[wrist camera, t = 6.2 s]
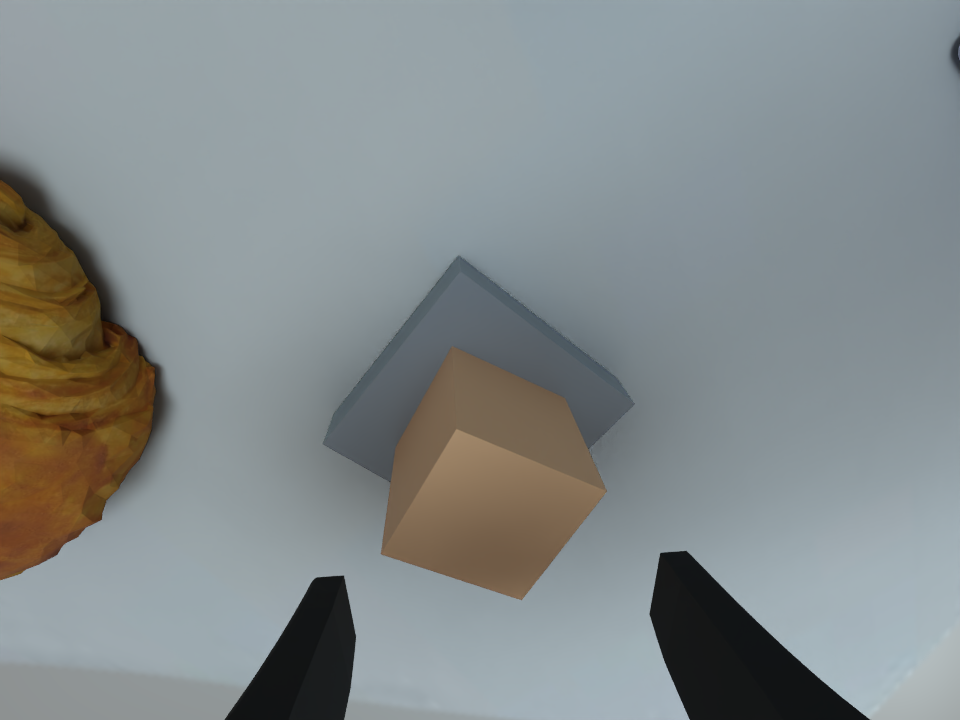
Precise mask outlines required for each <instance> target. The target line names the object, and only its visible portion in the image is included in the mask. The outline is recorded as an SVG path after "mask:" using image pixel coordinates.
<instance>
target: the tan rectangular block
mask: <svg viewBox="0 0 960 720" xmlns="http://www.w3.org/2000/svg"><path fill="white" fill-rule="evenodd" d="M606 492H607V490H606V488H605V486H604V484H603V482H602V479H601V477H600V475H599V473H598V470H597V468H596V466H595V464H594V462H593V459H592V457H591V455H590V453H589V450H588V448H587V446H586V444H585V442H584V439H583V437H582V435H581V433H580V430H579V428H578V426H577V424H576V422H575V419H574V417H573V415H572V413H571V410H570V408H569V406H568V404H567V402H566V399H565V398H564V397H562V396H559V395H557V394H555V393H553V392H551V391H549V390H546V389H544V388H542V387H540V386H538V385H536V384H533V383H531V382H529V381H527V380H525V379H523V378H520V377H518V376H516V375H514V374H512V373H510V372H507V371H505V370H503V369H501V368H499V367H497V366H494V365H492V364H490V363H488V362H486V361H484V360H481V359H479V358H477V357H475V356H473V355H471V354H468V353H466V352H464V351H462V350H460V349H458V348H455V347H453V346H452V347H451V349H450V351H449V352H448V354H447V356H446V358H445V360H444V361H443V363H442V365H441V367H440V369H439V370H438V372H437V374H436V376H435V378H434V379H433V381H432V383H431V385H430V387H429V388H428V390H427V392H426V394H425V395H424V397H423V399H422V401H421V403H420V404H419V406H418V408H417V410H416V412H415V413H414V415H413V417H412V419H411V421H410V422H409V424H408V426H407V428H406V430H405V431H404V433H403V435H402V437H401V439H400V440H399V442H398V444H397V446H396V448H395V455H394V462H393V470H392V477H391V484H390V492H389V499H388V506H387V513H386V521H385V528H384V535H383V543H382V550H381V554H382V555H385V556H388V557H391V558H394V559H397V560H400V561H403V562H406V563H409V564H412V565H415V566H419V567H422V568H425V569H428V570H431V571H434V572H437V573H440V574H443V575H446V576H449V577H452V578H455V579H458V580H461V581H464V582H468V583H471V584H474V585H477V586H480V587H483V588H486V589H489V590H492V591H495V592H498V593H501V594H504V595H507V596H510V597H513V598H516V599H520V600H522V599H523V598H524V596H525V595H526V594H527V593H528V591H529V590H530V589H531V588H532V586H533V585H534V584H535V582H536V581H537V580H538V579H539V577H540V576H541V575H542V573H543V572H544V571H545V570H546V568H547V567H548V566H549V565H550V563H551V562H552V561H553V559H554V558H555V557H556V556H557V554H558V553H559V552H560V551H561V549H562V548H563V547H564V545H565V544H566V543H567V542H568V540H569V539H570V538H571V537H572V535H573V534H574V533H575V531H576V530H577V529H578V528H579V526H580V525H581V524H582V522H583V521H584V520H585V519H586V517H587V516H588V515H589V514H590V512H591V511H592V510H593V508H594V507H595V506H596V505H597V503H598V502H599V501H600V500H601V498H602V497H603V496H604V494H605V493H606Z"/></svg>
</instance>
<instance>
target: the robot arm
mask: <svg viewBox="0 0 960 720" xmlns="http://www.w3.org/2000/svg"><path fill="white" fill-rule="evenodd" d="M958 56H959V59H960V46H959V50H958ZM650 617H651V620H652V623H653V627H654V630H655V633H656V637H657V640H658V643H659V646H660V649H661V652H662V655H663V658H664V661H665V664H666V666H667V668H668V671H669V673H670V675H671V678H672V680H673V682H674V685H675V687H676V689H677V692H678V694H679V696H680V699H681V701H682V703H683V705H684V708H685V710H686V712H687V714H688V717H689V719H690V720H870V719H868V718H867V717H866V716H865V715H863V714H862V713H861V712H860V711H858V710H857V709H856V708H854V707H853V706H852V705H851V704H849V703H848V702H847V701H846V700H844V699H843V698H842V697H841V696H839V695H838V694H837V693H836V692H835V691H833V690H832V689H831V688H830V687H829V686H828V685H826V684H825V683H824V682H823V681H822V680H820V679H819V678H818V677H817V676H816V675H815V674H814V673H812V672H811V671H810V670H809V669H808V668H807V667H806V666H805V665H803V664H802V663H801V662H800V661H799V660H798V659H797V658H795V657H794V656H793V655H792V654H791V653H790V652H789V651H788V650H787V649H786V648H784V647H783V646H782V645H781V644H780V643H779V642H778V641H777V640H776V639H775V638H774V637H773V636H772V635H771V634H770V633H768V632H767V631H766V630H765V629H764V628H763V627H762V626H761V625H760V624H759V623H758V622H757V621H756V620H755V619H754V618H753V617H752V616H751V615H750V614H749V613H748V612H747V611H746V610H745V609H744V608H742V607H741V606H740V605H739V604H738V603H737V602H736V601H735V600H734V599H733V598H732V597H731V596H730V595H729V594H728V593H727V592H726V591H725V589H724V588H723V587H722V586H721V585H720V584H719V583H718V582H717V581H716V580H715V579H714V578H713V577H712V576H711V575H710V574H709V573H708V572H707V571H706V570H705V569H704V568H703V567H702V566H701V565H700V564H699V563H698V562H697V561H696V560H695V559H694V558H693V557H692V556H691V555H690V554H689V553H688V552H687V551H679V552H665V553H660V558H659V564H658V569H657V575H656V581H655V586H654V592H653V598H652V603H651V609H650ZM355 642H356V634H355V629H354V624H353V619H352V614H351V609H350V604H349V599H348V594H347V589H346V584H345V579H344V576H331V577H317V578H315V579H314V580H313V581H312V583H311V584H310V586H309V588H308V590H307V592H306V594H305V595H304V597H303V599H302V601H301V602H300V604H299V606H298V608H297V609H296V611H295V613H294V615H293V616H292V618H291V620H290V621H289V623H288V625H287V626H286V628H285V630H284V631H283V633H282V635H281V636H280V638H279V640H278V641H277V643H276V644H275V646H274V647H273V649H272V650H271V652H270V654H269V655H268V657H267V658H266V660H265V661H264V663H263V664H262V666H261V668H260V669H259V671H258V672H257V674H256V675H255V677H254V678H253V680H252V681H251V683H250V684H249V686H248V687H247V689H246V690H245V691H244V693H243V694H242V696H241V697H240V698H239V700H238V702H237V703H236V704H235V706H234V707H233V708H232V710H231V711H230V713H229V714H228V716H227V717H226V718H225V720H344V717H345V712H346V707H347V703H348V698H349V693H350V688H351V679H352V671H353V662H354V652H355Z"/></svg>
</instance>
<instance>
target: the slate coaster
mask: <svg viewBox="0 0 960 720" xmlns="http://www.w3.org/2000/svg"><path fill="white" fill-rule="evenodd" d="M452 346H453V347H455V348H458V349H460V350H462V351H464V352H466V353H468V354H471V355H473V356H475V357H477V358H479V359H481V360H484V361H486V362H488V363H490V364H492V365H494V366H497V367H499V368H501V369H503V370H505V371H507V372H510V373H512V374H514V375H516V376H518V377H520V378H523V379H525V380H527V381H529V382H531V383H533V384H536V385H538V386H540V387H542V388H544V389H546V390H549V391H551V392H553V393H555V394H557V395H559V396H562V397H564V398H565V399H566V402H567V404H568V406H569V408H570V410H571V413H572V415H573V417H574V419H575V422H576V424H577V426H578V428H579V430H580V433H581V435H582V437H583V439H584V442H585V444H586V446H587V448H588V449H589V448H590V447H591V446H592V445H593V444H594V443H595V442H596V441H597V440H598V439H599V438H600V437H601V436H602V435H603V434H604V433H605V432H606V431H607V430H609V429H610V428H611V427H612V426H613V425H614V424H615V423H616V422H617V421H618V420H619V419H620V418H621V417H622V416H623V415H624V414H625V413H626V412H627V411H628V410H629V409H630V408H631V407H632V406H633V405H634V402H633V401H632V399H631V398H630V396H629V395H628V393H627V392H626V390H625V389H624V388H623V386H622V385H621V383H620V382H619V380H618V379H617V378H616V377H615V376H613V375H612V374H611V373H610V372H608V371H607V370H606V369H604V368H603V367H602V366H601V365H599V364H598V363H597V362H595V361H594V360H593V359H591V358H590V357H589V356H588V355H586V354H585V353H584V352H582V351H581V350H580V349H579V348H577V347H576V346H575V345H573V344H572V343H571V342H570V341H568V340H567V339H566V338H564V337H563V336H562V335H560V334H559V333H558V332H557V331H555V330H554V329H553V328H551V327H550V326H549V325H548V324H546V323H545V322H544V321H542V320H541V319H540V318H539V317H537V316H536V315H535V314H533V313H532V312H531V311H529V310H528V309H527V308H526V307H524V306H523V305H522V304H520V303H519V302H518V301H517V300H515V299H514V298H513V297H511V296H510V295H509V294H508V293H506V292H505V291H504V290H502V289H501V288H500V287H498V286H497V285H496V284H495V283H493V282H492V281H491V280H489V279H488V278H487V277H486V276H484V275H483V274H482V273H480V272H479V271H478V270H477V269H475V268H474V267H473V266H471V265H470V264H469V263H467V262H466V261H465V260H464V259H462V258H461V257H460V256H458V257H457V258H456V259H455V261H454V262H453V263H452V264H451V266H450V267H449V268H448V270H447V271H446V272H445V273H444V275H443V276H442V277H441V278H440V280H439V281H438V282H437V284H436V285H435V286H434V287H433V289H432V290H431V291H430V292H429V294H428V295H427V296H426V298H425V299H424V300H423V301H422V303H421V304H420V305H419V306H418V308H417V309H416V310H415V311H414V313H413V314H412V315H411V317H410V318H409V319H408V320H407V322H406V323H405V324H404V325H403V327H402V328H401V329H400V331H399V332H398V333H397V334H396V336H395V337H394V338H393V339H392V341H391V342H390V343H389V345H388V346H387V347H386V348H385V350H384V351H383V352H382V353H381V355H380V356H379V357H378V359H377V360H376V361H375V362H374V364H373V365H372V366H371V367H370V369H369V370H368V371H367V373H366V374H365V375H364V376H363V378H362V379H361V380H360V381H359V383H358V384H357V385H356V387H355V388H354V389H353V390H352V392H351V393H350V394H349V395H348V397H347V398H346V399H345V401H344V402H343V403H342V404H341V406H340V407H339V408H338V409H337V411H336V412H335V413H334V414H333V417H332V420H331V423H330V425H329V428H328V431H327V434H326V436H325V439H324V442H323V445H325V446H327V447H329V448H331V449H332V450H334V451H336V452H338V453H339V454H341V455H343V456H345V457H347V458H348V459H350V460H352V461H354V462H355V463H357V464H359V465H361V466H363V467H364V468H366V469H368V470H370V471H372V472H373V473H375V474H377V475H379V476H380V477H382V478H384V479H386V480H388V481H389V482H391V477H392V470H393V462H394V455H395V448H396V446H397V444H398V442H399V440H400V439H401V437H402V435H403V433H404V431H405V430H406V428H407V426H408V424H409V422H410V421H411V419H412V417H413V415H414V413H415V412H416V410H417V408H418V406H419V404H420V403H421V401H422V399H423V397H424V395H425V394H426V392H427V390H428V388H429V387H430V385H431V383H432V381H433V379H434V378H435V376H436V374H437V372H438V370H439V369H440V367H441V365H442V363H443V361H444V360H445V358H446V356H447V354H448V352H449V351H450V349H451V347H452Z"/></svg>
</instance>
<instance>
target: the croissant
mask: <svg viewBox="0 0 960 720" xmlns="http://www.w3.org/2000/svg"><path fill="white" fill-rule="evenodd" d="M154 380H155V367H152V366H151V365H150V364H149V363H148V362H146V361H145V359H144V357H143V356H139V354H138V342H137V339H136V338H135V337H132V336H130V335H128V334H127V333H126V332H125V331H124V329H123V328H122V327H120V326H119V325H116V324H113V323H110V322H105V321H101V317H100V301H99V297H98V294H97V291H96V288H95V287H94V285H93V284H92V283H91V282H90V281H89V280H88V279H87V277H86V275H85V273H84V271H83V269H82V268H81V266H80V264H79V262H78V260H77V258H76V256H75V254H74V252H73V251H72V250H71V249H69V248H68V247H66V246H65V245H64V243H63V241H61V240H60V239H59V237H58V234H57V232H56V231H54V230H53V229H52V228H51V227H50V226H49V225H48V224H47V223H46V222H45V221H44V220H43V218H42V217H41V216H39V215H38V214H36V213H35V212H33V211H31V210H30V209H29V208H27V207H26V206H25V205H24V202H23V200H22V198H21V197H20V196H19V195H18V194H17V193H16V192H15V191H14V190H13V189H12V188H11V187H10V186H9V185H7V184H6V183H4V182H3V181H1V180H0V580H3V579H6V578H9V577H12V576H15V575H18V574H21V573H22V572H23V571H24V570H26V569H28V568H31V567H33V566H36V565H39V564H41V563H42V562H44V561H46V560H48V559H50V558H52V557H54V556H56V555H58V553H59V551H60V549H61V548H62V546H63V545H64V544H65V543H67V542H69V541H71V540H73V539H75V538H77V537H78V536H79V535H80V534H81V532H82V531H83V530H84V529H85V528H86V527H88V526H90V525H92V524H94V523H96V522H98V521H100V520H102V512H103V509H104V506H105V503H106V500H107V499H108V498H109V497H110V496H111V495H112V494H113V493H114V492H115V491H116V490H118V489H119V486H120V484H121V483H122V482H123V480H124V478H125V477H126V475H127V473H128V472H129V470H130V469H131V468H132V467H133V466H134V465H135V464H136V462H137V461H138V460H139V459H140V457H141V454H142V452H143V450H144V447H145V445H146V443H147V441H148V438H149V435H150V432H151V428H152V418H153V402H154V398H155V393H156V389H155V386H154Z"/></svg>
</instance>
